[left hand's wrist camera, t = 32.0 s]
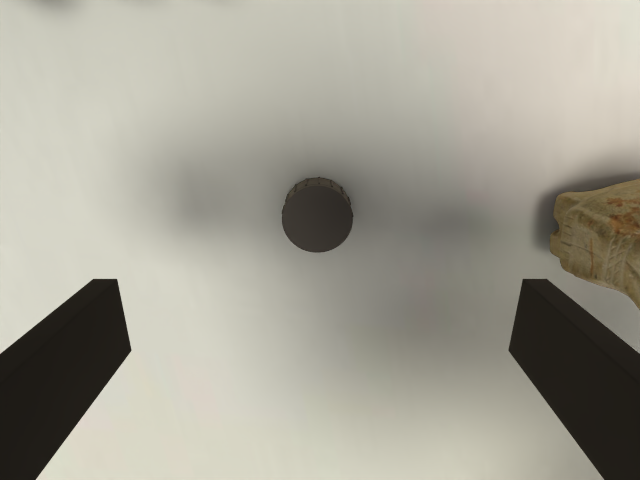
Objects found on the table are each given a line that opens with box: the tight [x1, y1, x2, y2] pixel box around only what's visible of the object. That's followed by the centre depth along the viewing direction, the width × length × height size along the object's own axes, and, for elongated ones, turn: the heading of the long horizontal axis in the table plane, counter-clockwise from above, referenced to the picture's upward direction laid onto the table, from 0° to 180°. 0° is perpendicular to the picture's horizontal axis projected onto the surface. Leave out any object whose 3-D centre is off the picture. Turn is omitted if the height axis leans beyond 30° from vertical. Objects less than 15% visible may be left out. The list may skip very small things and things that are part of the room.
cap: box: [282, 177, 353, 252], centre depth 21 cm, size 4×4×2 cm
